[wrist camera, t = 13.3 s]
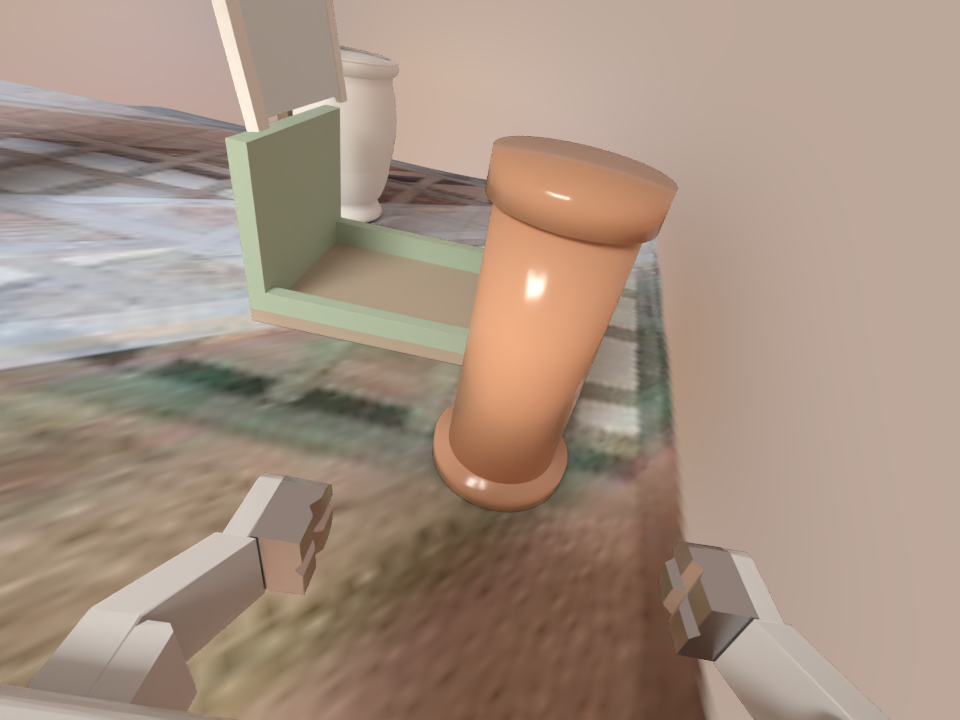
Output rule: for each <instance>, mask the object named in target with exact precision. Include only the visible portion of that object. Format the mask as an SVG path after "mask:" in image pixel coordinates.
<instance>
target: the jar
mask: <svg viewBox="0 0 960 720" xmlns="http://www.w3.org/2000/svg"><path fill="white" fill-rule="evenodd" d="M339 47H340V53H341V60H342V67H343V74H344V80H345V87H346V94H347V100H348V101H346V102H343V103H333V98H329V99H326V100H323V101H319V102H316V103H313V104H310V105H307V106H303V107H300V108H297V109H294V110H292V111H293V115H296V114H299V113H302V112H305V111H308V110H311V109H314V108H317V107H320V106H323V105H329V106H334V107H338V108H340V167H341V217H342V218H347V219H352V220H356V221H361V222H365V223H366V222H370V221H373V220H375V219H377V218H378V217H380V215H381V213H382V209H381V206H380V204H379V202H378V198H379V197H380V195H381V194H382V192H383V190H384V187H385V185H386V182H387V178H388V174H389V168H390V162H391V158H392V154H393V150H394V144H395V137H396V102H395V94H394V89H393V84H392V83H393V82H392V81H393V78H394V77H395V76H397V75H398V73H399V66H398V65H399V63H397V62H396V61H394V60H392V59H389V58H387V57H384V56H381V55H378V54H374V53H371V52H367V51H362V50H358V49H353V48H349V47H344V46H339Z"/></svg>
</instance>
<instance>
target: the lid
mask: <svg viewBox="0 0 960 720" xmlns="http://www.w3.org/2000/svg"><path fill="white" fill-rule="evenodd" d="M211 1H212V5H213V9H214V12H215V16H216V19H217V23H218V27H219V30H220V34H221V38H222V42H223V45H224V49H225V53H226V56H227V60H228V64H229V67H230V71H231V74H232V78H233V82H234V85H235V89H236V93H237V97H238V100H239V104H240V107H241V111H242V115H243V119H244V122H245V126H246V130H247V132H260V131H263V130H266V129H269V128H270V126H269V122H268V117H271V116H275V115H278V114H281V113H284V112H287V111H291V110H294V109H297V108H300V107H303V106H307V105H310V104H313V103H316V102H319V101H323V100H326V99H329V98H333V103H343V102H346V101H348V100H347V94H346V87H345V80H344V74H343V67H342V60H341V53H340V47H339V40H338V34H337V27H336V21H335V13H334V6H333V0H211Z"/></svg>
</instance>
